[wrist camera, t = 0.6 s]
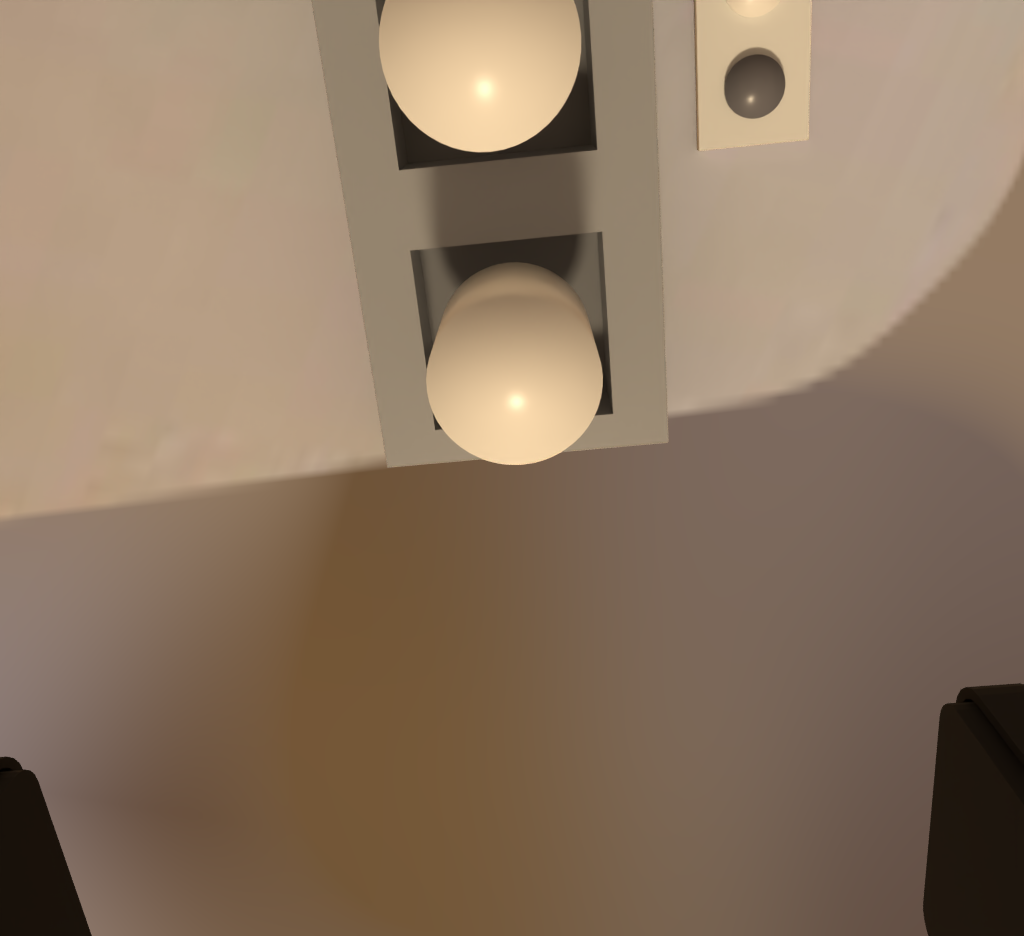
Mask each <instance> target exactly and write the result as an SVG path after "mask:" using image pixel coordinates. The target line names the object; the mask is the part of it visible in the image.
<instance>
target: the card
mask: <svg viewBox="0 0 1024 936" xmlns="http://www.w3.org/2000/svg"><path fill="white" fill-rule="evenodd" d="M811 11H812V0H694V17H695V65H696V113H697V150H698V151H703V150H713V149H722V148H732V147H742V146H752V145H761V144H771V143H781V142H791V141H800V140H809V98H810V54H811Z"/></svg>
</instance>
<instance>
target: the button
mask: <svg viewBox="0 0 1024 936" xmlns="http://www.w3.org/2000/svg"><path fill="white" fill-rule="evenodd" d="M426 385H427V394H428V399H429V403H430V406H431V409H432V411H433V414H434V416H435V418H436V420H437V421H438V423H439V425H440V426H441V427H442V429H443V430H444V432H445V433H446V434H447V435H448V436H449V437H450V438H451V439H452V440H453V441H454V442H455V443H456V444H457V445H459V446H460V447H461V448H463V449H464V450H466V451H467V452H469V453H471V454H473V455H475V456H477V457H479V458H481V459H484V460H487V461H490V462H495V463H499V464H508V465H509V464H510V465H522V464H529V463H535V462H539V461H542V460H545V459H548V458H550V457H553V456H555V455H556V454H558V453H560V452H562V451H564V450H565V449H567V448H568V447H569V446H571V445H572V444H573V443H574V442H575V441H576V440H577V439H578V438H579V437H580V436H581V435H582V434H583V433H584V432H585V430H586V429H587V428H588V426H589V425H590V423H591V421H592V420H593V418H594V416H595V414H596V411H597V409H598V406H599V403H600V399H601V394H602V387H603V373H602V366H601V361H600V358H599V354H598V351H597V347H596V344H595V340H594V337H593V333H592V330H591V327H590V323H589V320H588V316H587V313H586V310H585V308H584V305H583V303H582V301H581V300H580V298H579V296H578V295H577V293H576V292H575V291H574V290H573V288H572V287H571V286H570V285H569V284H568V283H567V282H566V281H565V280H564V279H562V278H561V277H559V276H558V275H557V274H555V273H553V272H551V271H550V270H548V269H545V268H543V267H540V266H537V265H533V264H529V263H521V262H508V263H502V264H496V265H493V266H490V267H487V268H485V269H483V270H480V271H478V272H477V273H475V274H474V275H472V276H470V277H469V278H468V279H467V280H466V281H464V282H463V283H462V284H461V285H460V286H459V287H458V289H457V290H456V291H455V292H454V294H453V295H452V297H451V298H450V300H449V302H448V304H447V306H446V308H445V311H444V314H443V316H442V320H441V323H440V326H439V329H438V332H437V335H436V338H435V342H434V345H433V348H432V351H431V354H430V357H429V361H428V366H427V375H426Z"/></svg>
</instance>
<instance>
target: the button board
mask: <svg viewBox="0 0 1024 936" xmlns="http://www.w3.org/2000/svg"><path fill="white" fill-rule="evenodd" d="M574 3H575V5H576V9H577V13H578V17H579V22H580V30H581V55H580V64H579V68H578V72H577V76H576V79H575V82H574V85H573V87H572V90H571V92H570V94H569V96H568V98H567V100H566V102H565V104H564V105H563V107H562V108H561V109H560V111H559V112H558V114H557V115H556V116H555V117H554V118H553V120H552V121H551V122H550V123H549V124H548V125H547V126H546V127H545V128H543V129H542V130H541V131H540V132H539V133H537V134H536V135H534V136H533V137H531V138H530V139H528V140H527V141H524V142H522V143H520V144H518V145H516V146H513V147H510V148H507V149H504V150H498V151H493V152H471V151H464V150H460V149H456V148H452V147H450V146H447V145H445V144H442V143H440V142H438V141H436V140H435V139H433V138H431V137H429V136H428V135H427V134H425V133H424V132H423V131H421V130H420V129H419V128H418V127H417V126H415V125H414V124H413V123H412V122H411V121H410V120H409V119H408V117H407V116H406V115H405V114H404V112H403V111H402V110H401V109H400V107H399V105H398V104H397V102H396V101H395V99H394V97H393V95H392V93H391V91H390V89H389V87H388V85H387V82H386V79H385V76H384V73H383V69H382V64H381V59H380V50H379V27H380V21H381V15H382V11H383V7H384V4H385V0H312V7H313V13H314V19H315V25H316V31H317V37H318V43H319V50H320V56H321V62H322V68H323V74H324V80H325V86H326V93H327V99H328V105H329V111H330V117H331V123H332V129H333V136H334V142H335V148H336V154H337V160H338V166H339V172H340V179H341V185H342V191H343V197H344V203H345V209H346V216H347V222H348V228H349V234H350V240H351V246H352V252H353V259H354V265H355V271H356V277H357V283H358V289H359V295H360V302H361V308H362V314H363V320H364V326H365V332H366V338H367V345H368V351H369V357H370V363H371V369H372V375H373V381H374V388H375V394H376V400H377V406H378V412H379V418H380V424H381V431H382V437H383V443H384V449H385V455H386V461H387V467H399V466H410V465H422V464H433V463H444V462H454V461H467V460H477V459H481V458H479V457H477V456H475V455H473V454H471V453H469V452H467V451H466V450H464V449H463V448H461V447H460V446H459V445H457V444H456V443H455V442H454V441H453V440H452V439H451V438H450V437H449V436H448V435H447V434H446V433H445V432H444V430H443V429H442V427H441V426H440V425H439V423H438V421H437V420H436V418H435V416H434V414H433V411H432V409H431V406H430V403H429V399H428V394H427V385H426V375H427V366H428V361H429V357H430V354H431V351H432V348H433V345H434V342H435V338H436V335H437V332H438V329H439V326H440V323H441V320H442V316H443V314H444V311H445V308H446V306H447V304H448V302H449V300H450V298H451V297H452V295H453V294H454V292H455V291H456V290H457V289H458V287H459V286H460V285H461V284H462V283H463V282H464V281H466V280H467V279H468V278H469V277H470V276H472V275H474V274H475V273H477V272H478V271H480V270H483V269H485V268H487V267H490V266H493V265H496V264H502V263H508V262H521V263H529V264H533V265H537V266H540V267H543V268H545V269H548V270H550V271H551V272H553V273H555V274H557V275H558V276H559V277H561V278H562V279H564V280H565V281H566V282H567V283H568V284H569V285H570V286H571V287H572V288H573V290H574V291H575V292H576V293H577V295H578V296H579V298H580V300H581V301H582V303H583V305H584V308H585V310H586V313H587V316H588V320H589V323H590V327H591V330H592V333H593V337H594V340H595V344H596V347H597V351H598V354H599V358H600V361H601V366H602V373H603V387H602V394H601V399H600V403H599V406H598V409H597V411H596V414H595V416H594V418H593V420H592V421H591V423H590V425H589V426H588V428H587V429H586V430H585V432H584V433H583V434H582V435H581V436H580V437H579V438H578V439H577V440H576V441H575V442H574V443H573V444H572V445H571V446H569V447H568V448H567V449H565V450H564V451H562V452H567V451H579V450H590V449H601V448H613V447H624V446H634V445H645V444H657V443H668V416H667V388H666V361H665V333H664V305H663V278H662V250H661V222H660V195H659V167H658V139H657V112H656V84H655V56H654V29H653V1H652V0H574Z"/></svg>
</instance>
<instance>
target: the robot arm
mask: <svg viewBox="0 0 1024 936" xmlns="http://www.w3.org/2000/svg"><path fill="white" fill-rule="evenodd" d="M923 912H924V920H925V925H926V929H927V932H928V935H929V936H1024V684H1020V683H1019V684H1006V685H992V686H979V687H966V688H963V689H962V690H961V691H960V693H959V694H958V696H957V700H956V703H949V704H945V705H944V706H943V707H942V709H941V713H940V721H939V731H938V742H937V755H936V765H935V777H934V788H933V799H932V811H931V822H930V833H929V844H928V855H927V867H926V878H925V890H924V901H923ZM0 936H92V935H91V933H90V929H89V927H88V924H87V921H86V918H85V915H84V912H83V910H82V906H81V903H80V901H79V898H78V895H77V892H76V889H75V886H74V883H73V880H72V877H71V875H70V872H69V869H68V866H67V863H66V860H65V857H64V855H63V852H62V849H61V846H60V843H59V840H58V837H57V834H56V831H55V829H54V825H53V823H52V820H51V817H50V814H49V811H48V808H47V806H46V802H45V799H44V797H43V794H42V791H41V788H40V785H39V782H38V780H37V778H36V776H35V774H34V773H33V772H31V771H29V770H23V769H22V767H21V765H20V763H19V762H17V761H16V760H15V759H14V758H10V757H0Z"/></svg>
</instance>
